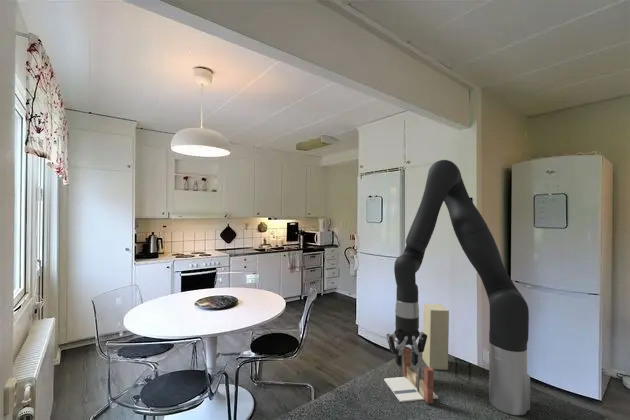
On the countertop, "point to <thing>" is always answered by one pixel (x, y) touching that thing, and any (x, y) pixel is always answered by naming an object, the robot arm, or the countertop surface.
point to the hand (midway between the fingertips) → (406, 364)
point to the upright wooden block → (436, 336)
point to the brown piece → (425, 384)
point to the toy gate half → (408, 366)
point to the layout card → (405, 389)
